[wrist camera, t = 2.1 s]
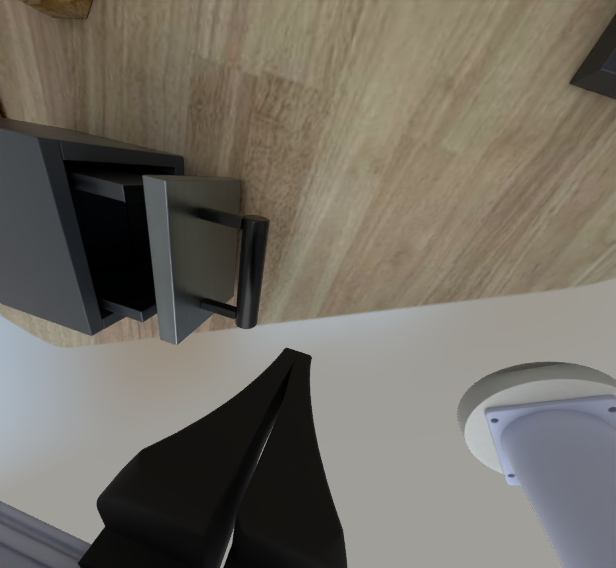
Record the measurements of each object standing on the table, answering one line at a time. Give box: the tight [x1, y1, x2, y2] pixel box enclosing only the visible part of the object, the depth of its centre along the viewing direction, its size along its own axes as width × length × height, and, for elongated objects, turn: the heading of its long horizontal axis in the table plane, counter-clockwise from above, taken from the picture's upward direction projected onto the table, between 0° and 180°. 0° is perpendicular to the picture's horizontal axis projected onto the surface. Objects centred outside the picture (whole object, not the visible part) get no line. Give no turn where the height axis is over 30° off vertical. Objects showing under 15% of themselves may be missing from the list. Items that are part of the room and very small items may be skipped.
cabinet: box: [0, 117, 183, 336], centre depth 16 cm, size 11×11×9 cm
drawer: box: [63, 160, 270, 345], centre depth 15 cm, size 13×9×7 cm
